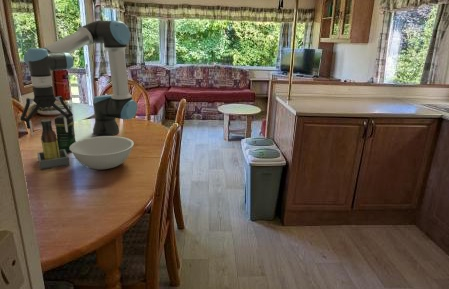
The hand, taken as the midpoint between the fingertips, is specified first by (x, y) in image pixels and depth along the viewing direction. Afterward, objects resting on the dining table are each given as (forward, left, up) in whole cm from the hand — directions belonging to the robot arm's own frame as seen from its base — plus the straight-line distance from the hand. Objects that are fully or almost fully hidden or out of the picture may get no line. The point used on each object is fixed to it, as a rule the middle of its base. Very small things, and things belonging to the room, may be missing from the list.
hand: (50, 133), depth 141 cm
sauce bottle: (+1, 0, -14) cm, 14 cm away
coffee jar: (-13, -13, -15) cm, 23 cm away
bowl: (-14, +19, -15) cm, 27 cm away
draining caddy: (0, 0, -14) cm, 14 cm away
